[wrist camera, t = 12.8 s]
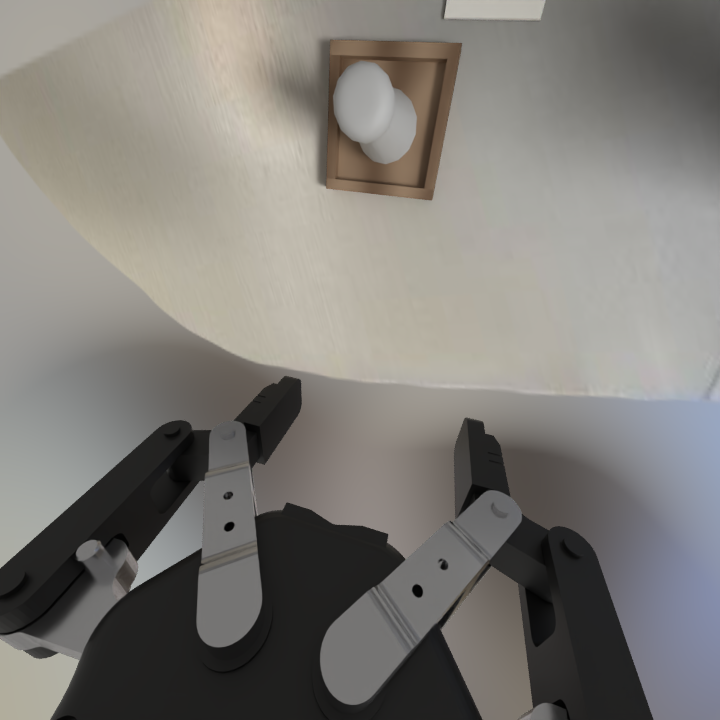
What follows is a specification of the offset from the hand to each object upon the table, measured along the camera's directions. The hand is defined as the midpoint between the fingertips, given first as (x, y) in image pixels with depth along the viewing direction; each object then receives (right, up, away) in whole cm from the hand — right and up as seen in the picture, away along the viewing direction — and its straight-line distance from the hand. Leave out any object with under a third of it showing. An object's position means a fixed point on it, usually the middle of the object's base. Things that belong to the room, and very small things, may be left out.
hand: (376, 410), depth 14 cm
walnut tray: (+2, +27, +17) cm, 32 cm away
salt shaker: (+2, +26, +16) cm, 31 cm away
